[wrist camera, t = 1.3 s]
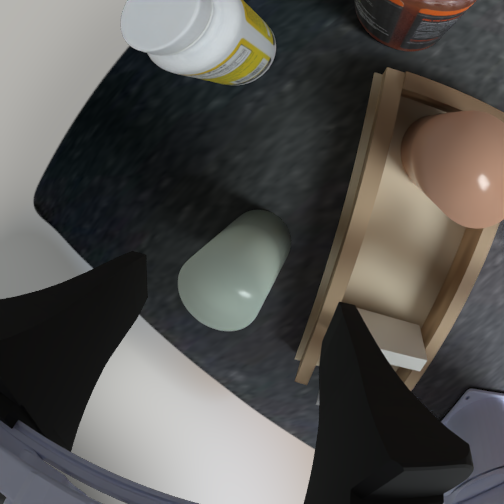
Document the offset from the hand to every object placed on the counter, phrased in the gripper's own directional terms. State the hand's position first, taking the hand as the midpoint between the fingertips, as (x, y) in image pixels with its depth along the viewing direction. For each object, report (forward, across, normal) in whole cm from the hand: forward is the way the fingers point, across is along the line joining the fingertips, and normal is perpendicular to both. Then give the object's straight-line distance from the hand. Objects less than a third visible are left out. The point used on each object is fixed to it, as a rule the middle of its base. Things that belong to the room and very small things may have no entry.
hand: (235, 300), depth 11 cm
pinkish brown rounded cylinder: (+10, -10, -6) cm, 15 cm away
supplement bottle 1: (+13, +4, -10) cm, 17 cm away
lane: (+10, -10, +1) cm, 14 cm away
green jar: (+11, 0, +3) cm, 12 cm away
